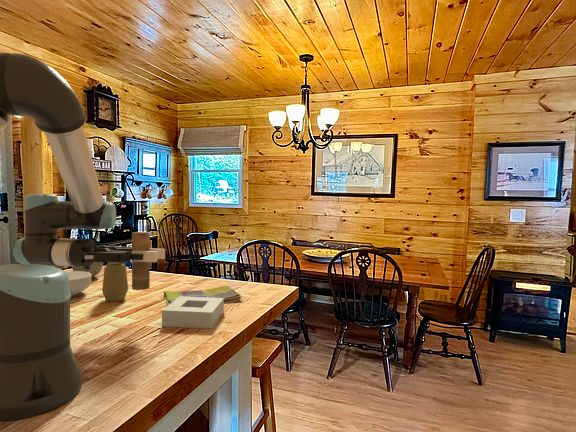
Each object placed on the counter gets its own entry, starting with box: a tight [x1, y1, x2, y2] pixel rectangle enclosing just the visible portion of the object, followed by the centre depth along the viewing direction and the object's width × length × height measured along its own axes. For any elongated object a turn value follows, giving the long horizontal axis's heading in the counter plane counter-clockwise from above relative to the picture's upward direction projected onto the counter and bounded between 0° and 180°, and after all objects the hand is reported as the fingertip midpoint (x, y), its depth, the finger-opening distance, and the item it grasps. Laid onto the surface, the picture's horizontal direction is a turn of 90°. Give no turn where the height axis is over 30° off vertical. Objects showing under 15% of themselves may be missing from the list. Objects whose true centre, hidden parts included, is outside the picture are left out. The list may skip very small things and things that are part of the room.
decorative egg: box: [71, 262, 104, 279], centre depth 154 cm, size 12×12×15 cm
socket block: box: [161, 296, 225, 330], centre depth 108 cm, size 14×14×4 cm
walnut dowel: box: [131, 231, 151, 291], centre depth 99 cm, size 4×4×15 cm
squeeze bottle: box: [101, 262, 129, 303], centre depth 125 cm, size 8×8×18 cm
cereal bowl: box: [64, 270, 93, 298], centre depth 129 cm, size 17×17×7 cm
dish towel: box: [163, 285, 243, 306], centre depth 130 cm, size 18×24×3 cm
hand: (160, 255), depth 99 cm, fingers closed on walnut dowel, 4 cm apart
